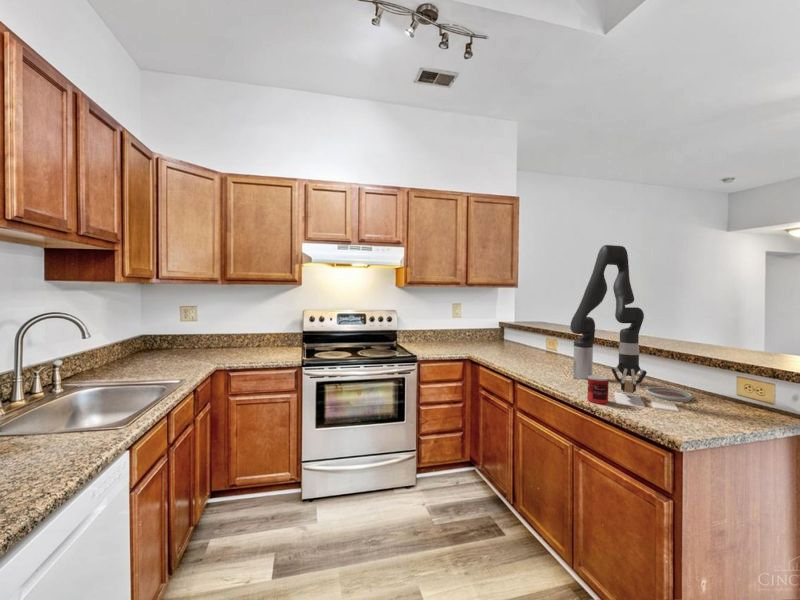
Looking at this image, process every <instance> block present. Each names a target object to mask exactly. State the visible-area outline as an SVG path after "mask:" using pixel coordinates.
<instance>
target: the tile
mask: <svg viewBox="0 0 800 600" xmlns="http://www.w3.org/2000/svg"><path fill="white" fill-rule="evenodd" d="M649 400H650V401H649V402H650V403H651V406H652V408H653V410H659V411H660V410H661V411H668V412H669V411H670V412H677V413H679V412H680V410H679V408H678V407H677V406H676V404H675V403H674V401H673V402H672V401H665V400H664V401H663V400H656V399H655V400H654V399H649Z"/></svg>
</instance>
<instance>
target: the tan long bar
mask: <svg viewBox="0 0 800 600" xmlns="http://www.w3.org/2000/svg"><path fill="white" fill-rule="evenodd" d="M620 393H621V394H626V395H635V396H640V397H641V395H640V394H639V393H637V392H634V393H633V383H632V381H630V382H629V381H625V392H623V391H621V392H620Z"/></svg>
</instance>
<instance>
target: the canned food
mask: <svg viewBox="0 0 800 600" xmlns="http://www.w3.org/2000/svg"><path fill="white" fill-rule="evenodd" d="M587 401H588V402H590V403H592V404H595V405H607V404H608V403H609V378H608V376H604V375H599V374H592V375H589V376H588V380H587Z"/></svg>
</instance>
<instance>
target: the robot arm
mask: <svg viewBox="0 0 800 600" xmlns="http://www.w3.org/2000/svg"><path fill="white" fill-rule="evenodd" d="M609 265H611V266H616V267H617V271H618V273H617V276H616V278H615V279H614V282H613V286H612V288H613V293H614V297H615V313H614V317H615V320H616V321H617V323H620V324H630V325H629V327H627V328H622V329H620V331H619V345H618V364H617V365H616V366H615V367H611V369H610V370H611V372H612V374H613V376H614V377H615V380H616V382H619V383H620V389H621V391H622V392H625V382H626V377H630V378H631V383H633V393H636V391H637V385H638V383H641V384H642V382H643V380H644V379H645V377H646V375H647V373H648V372H647V371H646V370H644V369H641V367H640V346H639V344H640V343H639V338H640V337H639V336H640V335H639V334H640V330H641V329H642V324H643V321H644V318H645V313H644V311H643V309H641V308H640V307H637V306H635V307H634V306H633V307H632V306H631V307H628V305H632V304H633V303H634V301H635V296H634V292H633V288H632V285H631V280H630V268H629V267H630V265H629V254H628V250H627V249H626V247H625V246H623V245H612V244H605V245H602V246H601V248H600V249H599V251H598V254H597V257H596V260H595V263H594V267H593V270H592V272H591V273H592V274H591V276H590V277H589V281H588V284H587V286H586V288H585V290H584V292H583V295H582V298H581V301H580V303H579V306H578V308H577V310H576V311H575V313H574V315H573V316H572V319H571V321H570V330H571V332H572V333H573V334H575V335H581V336H580V338H578V339H576V340H574V341H573V367H572V369H573V374H572V377H573V378H572V379H577V380H584V381H588V376H589V375H593V372H594V371H593V370H594V369H593V367H594V366H593V363H594V362H593V361H594V360H593V359H594V357H593V354H594V351H593V350H594V343H595V335H596V334H595V333H596V322H595V320H594V318H592V317H591V316H588V315H589V314H590V313H591V312H592V311H594V309H596V308H598V307H599V306H600V304H602V302H603V300H604V298H605V296H606V294H607V292H608V284H607V281H606V278H605V270H606V268H607V266H609ZM626 306H627V307H626ZM618 371H619V372H620V373H621V378H620V377H619V375H618ZM638 373H639V374H640V375H639V376H638V377H637V379H636V375H637V374H638Z"/></svg>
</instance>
